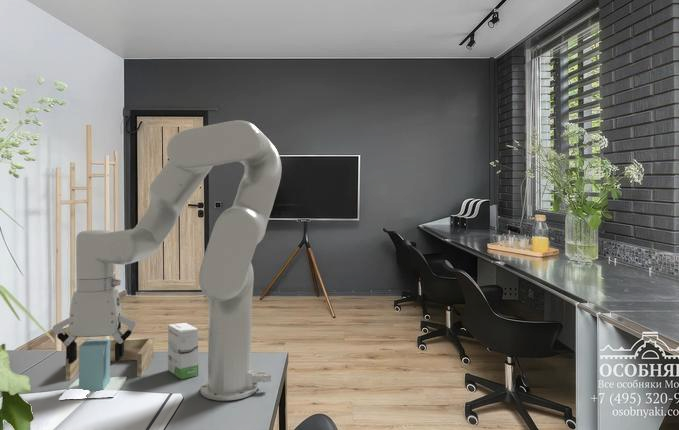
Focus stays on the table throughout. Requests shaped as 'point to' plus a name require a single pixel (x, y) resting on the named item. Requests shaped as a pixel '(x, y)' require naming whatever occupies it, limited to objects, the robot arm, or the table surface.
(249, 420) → the table surface
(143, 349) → the crate
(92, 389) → the teal block
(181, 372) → the ink box
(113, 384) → the felt mat
